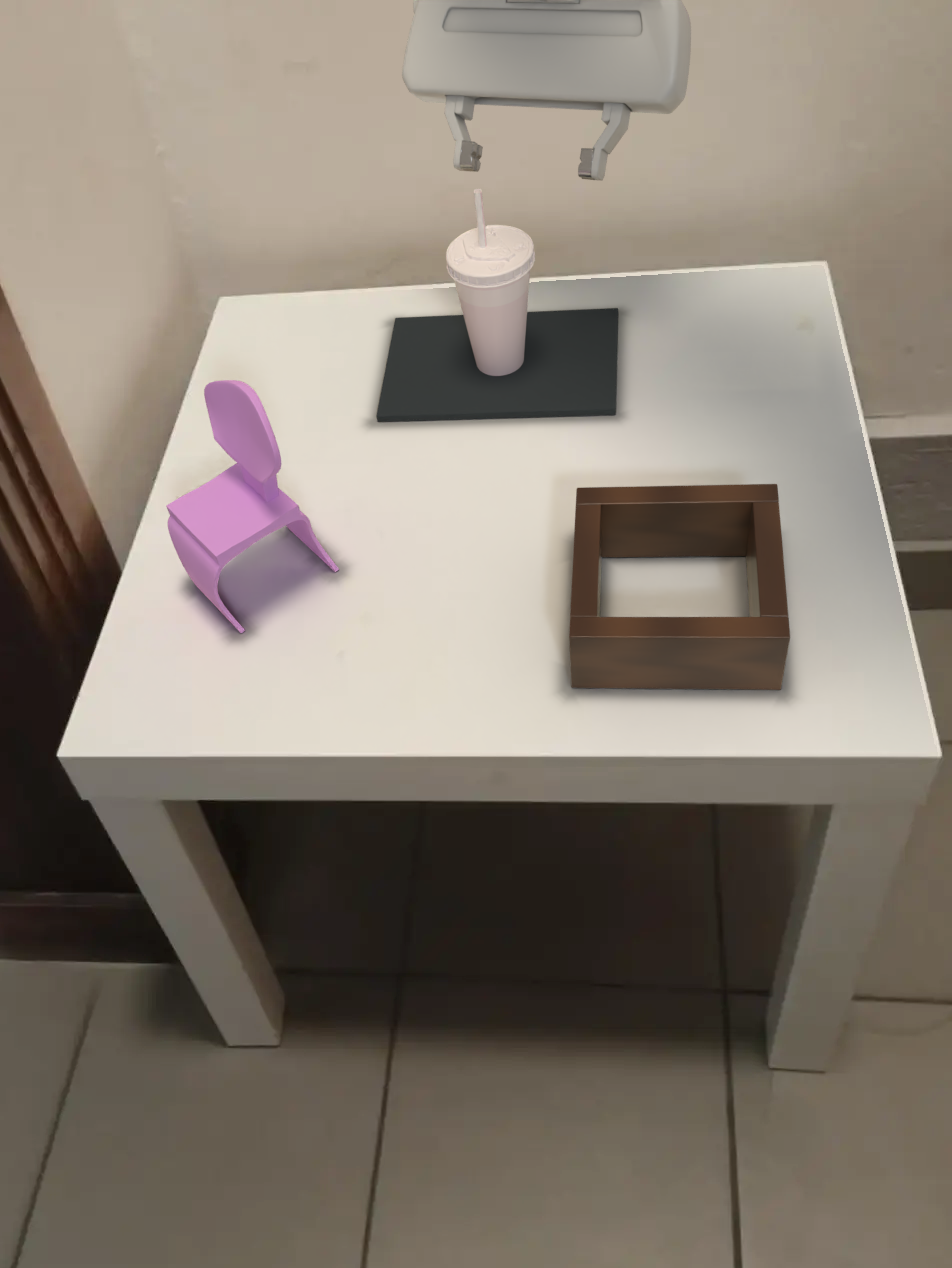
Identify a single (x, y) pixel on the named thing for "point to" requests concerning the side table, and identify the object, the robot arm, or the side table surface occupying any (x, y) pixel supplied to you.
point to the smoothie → (493, 290)
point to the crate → (679, 644)
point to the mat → (542, 387)
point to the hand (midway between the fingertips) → (527, 174)
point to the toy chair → (235, 494)
